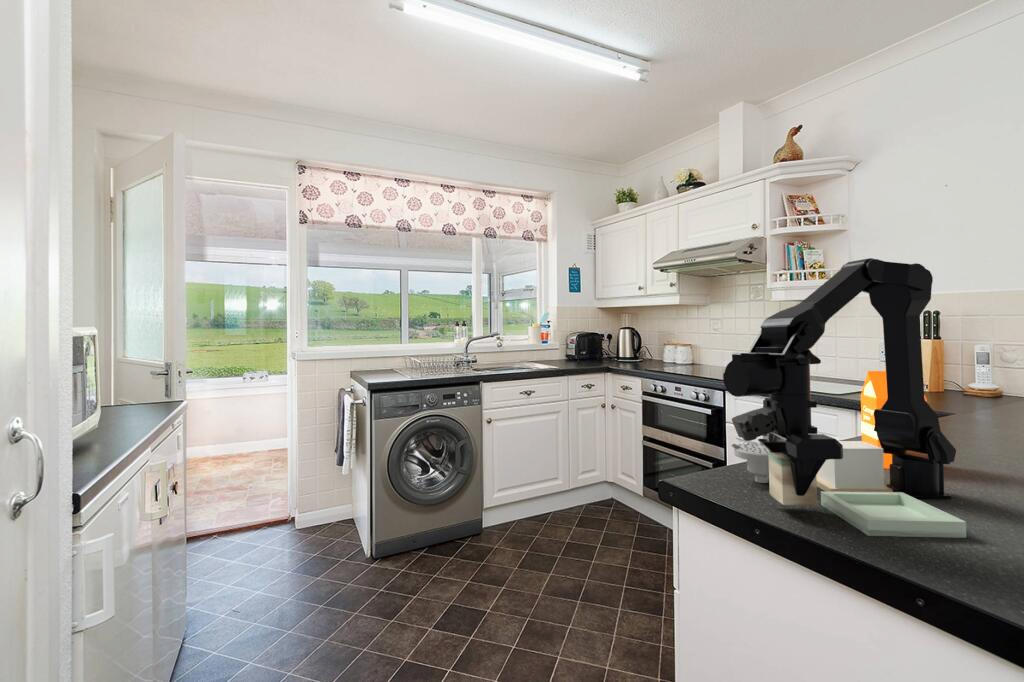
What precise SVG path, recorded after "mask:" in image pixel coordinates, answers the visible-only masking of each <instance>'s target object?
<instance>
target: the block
mask: <svg viewBox="0 0 1024 682" xmlns="http://www.w3.org/2000/svg"><path fill="white" fill-rule="evenodd" d="M768 459H769V475H768V483H769V484H768V485H769V495H770V496H771V497H772V498H774V499H775V500H776V501H777V502H779V503H780V504H781V505H782V506H818V487H817V478H816V476H815V478H814V480H813V481H812V483H811V485H810V487H809V488H808V490H807V492H806V494H805V495H804V496H798V495H796V492H795V487H794V482H793V476H792V470H791V464H790V461H789V460H788V459H787V458H785V457H784V456H783V455H782V454H781V452H768Z"/></svg>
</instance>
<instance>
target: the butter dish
mask: <svg viewBox="0 0 1024 682" xmlns="http://www.w3.org/2000/svg"><path fill="white" fill-rule="evenodd" d="M837 441H838V442H839V443H841V444H842V445H843V458H842V459H829V460H826V461H825V462H824V464H823V465H822V467H821V468H820V470H819V471H818V473H817V474H816V478H817V488H819V489H821V490H823V492H894V489H891V488H889V487H887V485H885V468H884V456H883V448H880V447H877V446H875V445H872V444H869V443H866V442H863V441H862V440H837Z"/></svg>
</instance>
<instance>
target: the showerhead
mask: <svg viewBox="0 0 1024 682" xmlns="http://www.w3.org/2000/svg"><path fill="white" fill-rule="evenodd" d="M730 446H731V447H732V448H733V453H734V456H735V457H737V458H740V459H742V460H746V466H747V468H746V469H747V471H748V472H750V473H752V474H754V480H755V482H756V483H759V484H767V483H769V459H768V452H770V451H769V449H767V448H766V447H765V446H764V445H763V444H762V443H760V442H759V443H757V442H752V443H750V442H747V443H739V444H736V443H731V445H730Z"/></svg>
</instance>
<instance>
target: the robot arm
mask: <svg viewBox="0 0 1024 682" xmlns="http://www.w3.org/2000/svg"><path fill="white" fill-rule="evenodd" d="M840 267H841V268H840V270H838V271H837V272H836V273H834V275H832V276H831V277H830V278H829V279H828V280H826V281H825V282H824V283H823V284H822V285H820V286H819V287H818V288H817V289H815V291H813V292H812V293H811V294H809V295H808V296H807V297H805V298H804V299H803V300H802V301H801V302H799V303H798V304H796V305H794V306H791V307H790V306H789V308H788V307H787V308H785V309H782V310H779V311H778V312H776V313H774V314H773V315H771V316H769V317H767V318H765V320H764V321H763V322H762V323H761V325H760V331H759V333H758V334H757V336H756V338H755V340H754V341H753V343H752V345H751V346H750V347H749V350H748V351H747V352H733V353H732V354H731V360H730V362H729V363H727V365H726V366H725V369H724V372H723V373H722V378H723V384H724V387H725V389H726V391H727V392H728V394H730V395H731V396H734V397H736V398H739V397H751V396H752V397H753V396H754V397H755V396H763V395H764V396H765V395H767V396H768V395H769V397H764V399H763V400H762V405H763V406H762V407H760V408H756V409H753V410H750V411H747V412H744V413H741V414H738V415H736V416H734V417H732V418H731V422H732V424H733V427H734V429H735V432H736V434H737V436H738V438H742V439H743V440H744V441H745V442H750V441H754V440H757V441H758V442H759V444H760V443H762V444H763V445H764V446H765V447H766V448H767V449H769V451H770V452H781V454H782V455H783V456H784V457H785V458H787V459H788V460H789V461H790V464H791V470H792V476H793V482H794V487H795V492H796V495H798V496H804V495H805V494H806V492H807V490H808V488H809V487H810V485H811V483H812V481H813V480H814V478H815V476H816V474H817V473H818V471H819V470H820V468H821V467H822V465H823V464H824V462H825V461H826V460H829V459H842V458H843V445H842V444H841V443H839V442H838V441H839V440H837V439H836V438H835V437H831V436H828V435H826V434H824V433H822V434H821V433H818V427H817V426H814V425H812V408H813V409H814V408H815V409H816V408H817V407H818V406H817V400H815V399H814V400H813V399H811V396H812V395H811V365H819V364H821V363H822V362H821V361H822V360H821V359H820V357H818V356H816V355H815V354H813V352H812V351H811V349H812V348H813V347H814V346H815V345H816V343H817V342H818V341H819V340H820V338H822V336H823V335H824V334H825V330H826V324H827V322H828V321H829V320H830V319H831V318H832V317H834V315H836V314H837V313H838V312H839V311H840V310H842V309H843V308H845V306H846V305H848V304H849V303H850V302H852V300H853V299H855V298H856V297H857V296H858V295H859V294H860V293H862V292H863V293H864V294H865V293H866V294H868V295H869V300H870V304H871V306H872V307H873V308H874V310H875V311H876V312H877V313H878V314H879V316H880V317H881V318H882V328H883V332H882V333H883V344H884V345H883V346H884V347H883V348H884V362H885V363H884V364H885V365H884V366H885V371H886V381H887V401H886V402H885V403H884V405H883V406H882V408H881V409H875V411H874V419H875V427H874V431H876V433H877V437H878V439H879V442H880V445H881V448H883V453H886V454H892V464H890V469H889V483H886V487H888V488H890V489H893V491H895V492H903V493H905V494H907V495H909V496H911V497H914V498H916V499H917V498H919V499H925V498H926V499H927V498H928V499H953V497H952V496H953V495H952V494H950V493H948V492H945V477H944V475H945V474H944V473H945V472H944V469H945V468H944V465H950V464H951V463H954V462H955V458H956V453H957V449H956V447H954V446H953V444H952V443H951V442H950V441H949V439H948V438H947V437H946V436H945V435H944V434H943V432H942V431H941V430H942V429H941V426H940V422H939V417H938V416H939V415H937V413H936V412H935V411H934V410H933V408H932V407H931V406H930V404H929V403H928V402H926V401H925V398H926V397H925V398H924V395H925V388H924V387H925V386H924V371H923V370H924V369H923V367H924V366H923V353H922V351H923V350H922V335H921V319H920V318H921V314H922V313H923V312H924V310H925V309H926V307H927V305H928V304H929V302H930V301H931V299H932V286H933V282H934V281H933V278H934V277H933V275H932V272H931V271H930V270H929V269H927V268H926V267H925V266H924V265H923V264H921V263H903V262H896V261H895V262H892V261H885V260H881V259H878V258H871V257H870V258H864V259H858V260H852V261H848V262H847V263H845V264H843V265H842V266H840ZM761 436H762V438H759V437H761ZM757 438H758V439H757Z"/></svg>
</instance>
